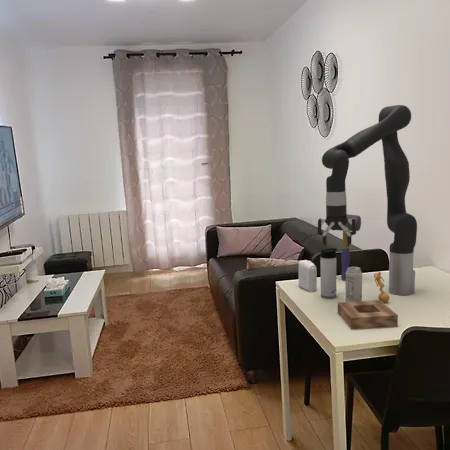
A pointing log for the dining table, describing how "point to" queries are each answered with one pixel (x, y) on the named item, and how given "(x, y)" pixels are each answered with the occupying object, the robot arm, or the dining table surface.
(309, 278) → the photo printer
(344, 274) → the rubber mallet
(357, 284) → the energy drink can
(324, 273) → the travel mug
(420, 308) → the dining table surface
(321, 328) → the dining table surface
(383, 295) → the figurine
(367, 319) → the wooden square frame
